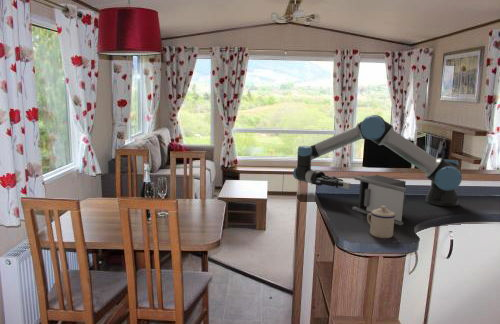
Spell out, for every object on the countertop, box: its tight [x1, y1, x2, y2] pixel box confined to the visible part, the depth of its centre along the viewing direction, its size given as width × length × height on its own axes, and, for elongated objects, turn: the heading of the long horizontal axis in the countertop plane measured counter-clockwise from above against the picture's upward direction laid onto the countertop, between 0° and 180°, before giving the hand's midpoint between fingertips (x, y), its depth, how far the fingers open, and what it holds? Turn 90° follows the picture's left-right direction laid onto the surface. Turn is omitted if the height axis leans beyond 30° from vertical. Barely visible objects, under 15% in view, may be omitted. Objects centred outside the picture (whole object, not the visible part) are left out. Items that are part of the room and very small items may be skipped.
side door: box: [364, 183, 404, 222], centre depth 176 cm, size 3×18×13 cm, turn 33°
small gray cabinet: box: [351, 174, 407, 226], centre depth 183 cm, size 14×27×16 cm, turn 33°
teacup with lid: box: [366, 206, 395, 239], centre depth 158 cm, size 12×9×12 cm
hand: (349, 186), depth 192 cm, fingers closed
